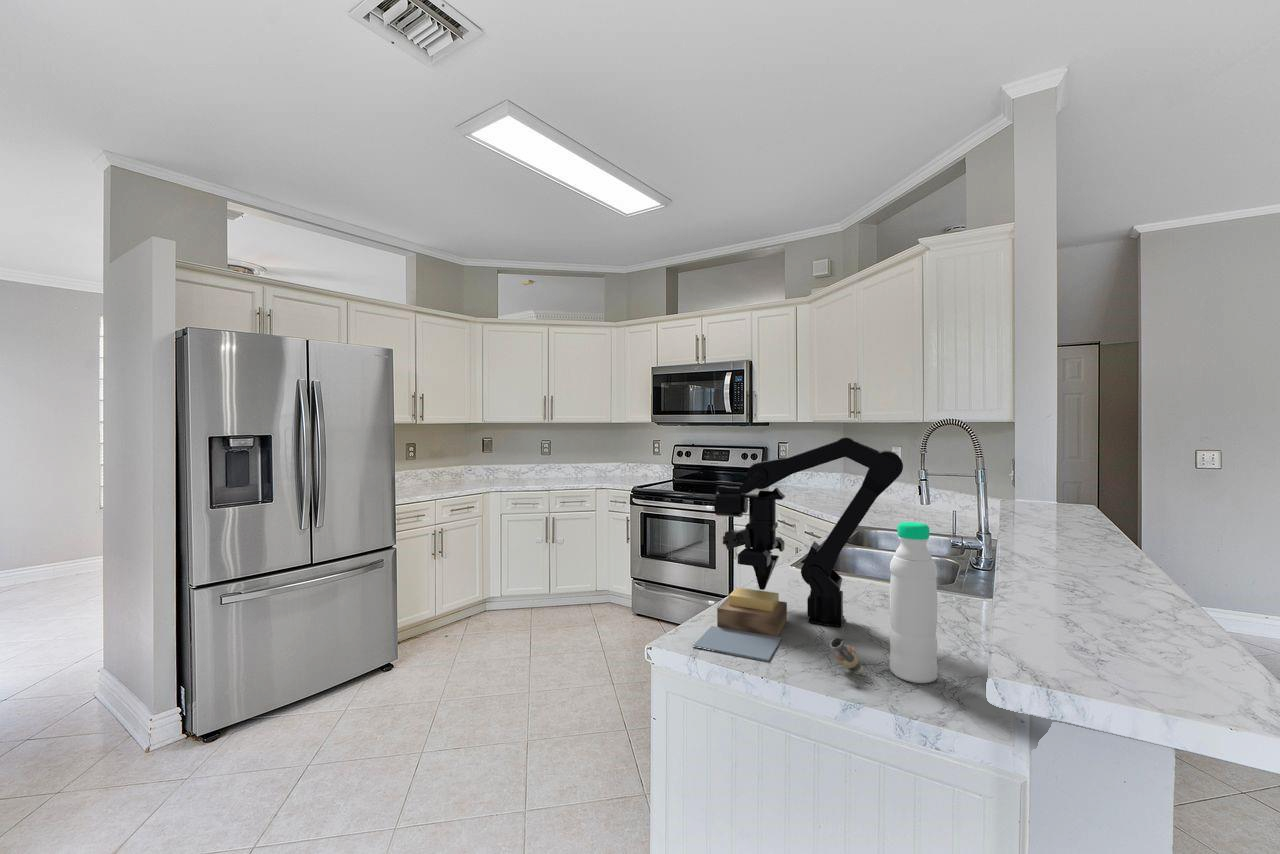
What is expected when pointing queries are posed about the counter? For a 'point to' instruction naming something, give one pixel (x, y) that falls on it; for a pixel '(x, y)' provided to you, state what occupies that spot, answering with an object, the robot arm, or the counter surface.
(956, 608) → the counter surface
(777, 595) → the pale yellow rectangular block
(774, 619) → the brown box
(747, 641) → the mat
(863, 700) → the counter surface
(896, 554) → the water bottle
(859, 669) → the vase
